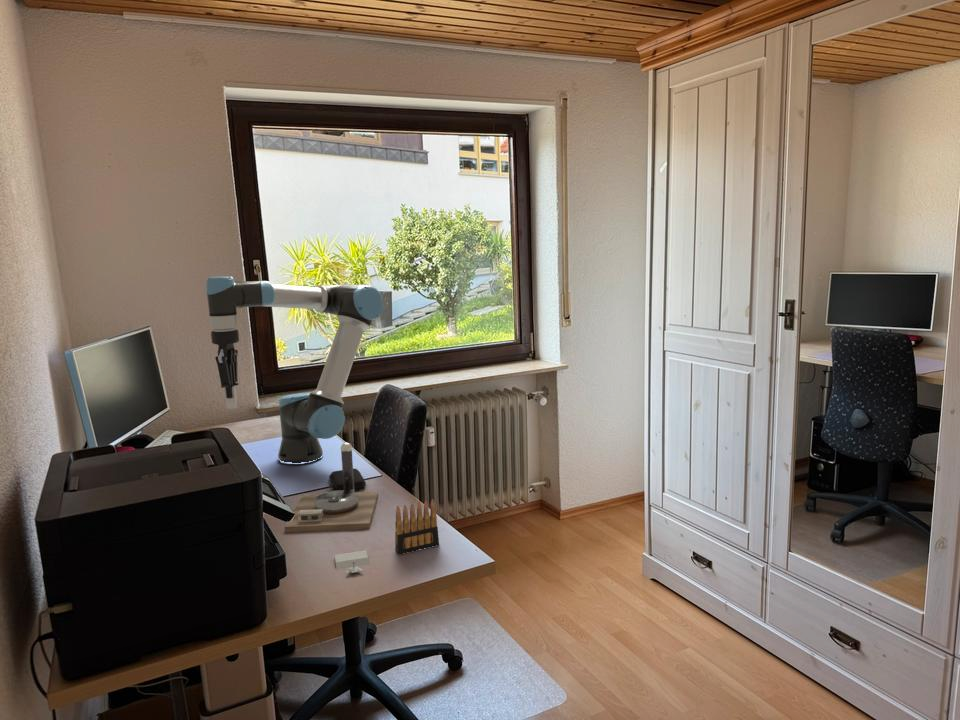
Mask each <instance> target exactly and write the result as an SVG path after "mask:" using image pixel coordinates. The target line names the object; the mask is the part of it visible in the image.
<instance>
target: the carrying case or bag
mask: <svg viewBox="0 0 960 720" xmlns="http://www.w3.org/2000/svg"><path fill="white" fill-rule="evenodd" d="M353 476H354V491H361V490H363V489H365V487H366V486H367V483H366V480H365V479H364V476H363V475H362V473H361V472H360V470H358V468H353ZM328 478H329V481H330V483H331V484H329V489H331V490H332V491H338V490H344V486H343V471H342V469H341V470H335V471H332V472H331V474H329V476H328Z"/></svg>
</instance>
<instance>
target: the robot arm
mask: <svg viewBox="0 0 960 720" xmlns="http://www.w3.org/2000/svg"><path fill="white" fill-rule="evenodd" d="M206 296H207V297H206V298H207V305H208V315H209V318H208V319H207V322H209V323H210V324H209V325H210V329H211V330H212V331H211V332H210V336H211V337H210V338H211V343H212V344H213V345H218V348H217V349H218V350H217V356H215V357H214V358H215V361H216V365H217V371H218V374H219V379H220V380H219V381H220V385H221V386H220V388H222V389H223V388H224V395H225V396H224V397H225V403H226V404H225V406H226V409H227V410H229V409H230V410H231V409H237V408H238V399H237V391H236V390H237V389H236V388H237V387H236V386H239V381H238V353H239V350H238V349H236V348H235V345H234V344H236V343H239V342H240V335H239V334H240V333H239V330H238V328H239V322H238V311H237V309H240V308H252V307H267V308H268V307H271V308H285V309H286V308H287V309H303V310H304V309H305V310H313V311H315V313H320V314H321V313H325V314H330V315H335V316H336V318H337V320H338V323H339V324H338V327H337V330H336V332H335V335H334V338H333V340H332V344H331V347H330V350H329V353H328V355H327V358H326V361H325V364H324V367H323V370H322V372H321V375H320V378H319V381H318V384H317V387H316V389H314V390H313V391H311V392H300V393H293V394H287V395H285V396H282V397H280V399H279V402H278V405H279V406H278V409H279V418H280V431H281V442H280V446H279V449H278V454H277V455H278V456H277V457H278V458H279V459H280V460H281V461H284V462H292V463H301V462H309V461H313V460H316V459H318V458H320V457H321V456H322V455H323V454H324V453H323V448H322V446H321V444H320V441H319V439H322V440H323V439H324V440H327V439H332V438H333V437H336V435H338V434H339V433H340V432H341V431H342V429H343V428H344V426H345V422H346V416H345V412H344V410H343V407H344V404H345V402H344V399H343V398H342V396H343V393H344V389H345V387H346V384H347V381H348V379H349V378H348V377H349V375H350V373H351V369H352V366H353V364H354V362H355V361H354V360H355V358H356V354H357V351H358V348H359V345H360V343H361V341H362V337H363V334H364V332H365V331H367V330H369V329H370V327H371V325H372V321H374V320H376V319H377V318H379V317H380V316H381V315H382V313H383V310H384V299H383V297H382V293H381V292H380V291H379V290H378V289H377V288H376V287H374V286H373V285H367V284H363V283H361V284H355V283H354V284H353V283H351V284H349V283H344V284H343V283H342V284H341V283H340V284H333V285H330V284H329V285H326V284H325V285H324V284H318V285H316V286H302V285H287V284H279V283H277V284H276V283H271V282H270V281H268V280H254V281H249V280H247V281H246V280H244V281H243V280H235V279H234V277H233V276H227V275H225V276H210V277H208V278H207V279H206ZM323 456H324V455H323Z"/></svg>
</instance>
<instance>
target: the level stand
mask: <svg viewBox="0 0 960 720" xmlns="http://www.w3.org/2000/svg"><path fill="white" fill-rule="evenodd" d="M355 493H356V494H357V495H358V502H359V504H358V506H357V507H356V508H354V509H352V510H350V511H347V512H343V513H338V514H325V513H323V509H319V510H315V504H314V500H315V498H316V497H317V496H319V495H321V494H322V493H320V494H319V493H317V494H315V493H314V494H302V496H301V497H300V499H299V501H298V502H297V504H296V506H295V508H294V510H293V511H294V513H295V516H294V518H293V520H292V521H291V522H288V521H287V522H286V524H285V525H284V533H300V532H301V533H302V532H320V531H321V532H323V531H340V530H347V531H348V530H362V529H366V530H367V529H368V530H369V529H371V526H372V522H373V519H374V514H375V510H376V507H377V504H378V503H377V502H378V498H379V491H365V492H364V491H361V492H355Z"/></svg>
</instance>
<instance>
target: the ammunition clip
mask: <svg viewBox="0 0 960 720" xmlns="http://www.w3.org/2000/svg"><path fill="white" fill-rule="evenodd" d="M402 508H403V509H402V513H401V509H400V506H399V505H397V506H396V510H395V523H394V524H395V536H394V539H395V540H394V541H395V543H394V544H395V548H394V549H395V550H394V551H395V554H396V553H397V554H396V555H397V556H400V555H399V554H401V555H404V554H403V553H406V554H408V553H407V552H410V553H413V552H412V551H415V552H417V551H416V550H419V549H423V550H425V549H424V548H428V547H432V546H436V545H439V546H440V538H439V528H438V519H437V511H436V510H437V509H436V503H435V501H434V498H432V499H431V502H430V508H429V504H428V502H427V500H425V501H424V504H423V508H422V505H421V502H420V501H418V502H417V505H416V508H415V506H414V503H413V502H411V504H410V507H409V509H410V510H409V511H408V508H407V505H406V504H404V505H403V507H402ZM415 509H416V511H415ZM429 509H430V510H429ZM432 548H433V547H432ZM428 549H429V548H428ZM419 551H420V550H419Z"/></svg>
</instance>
